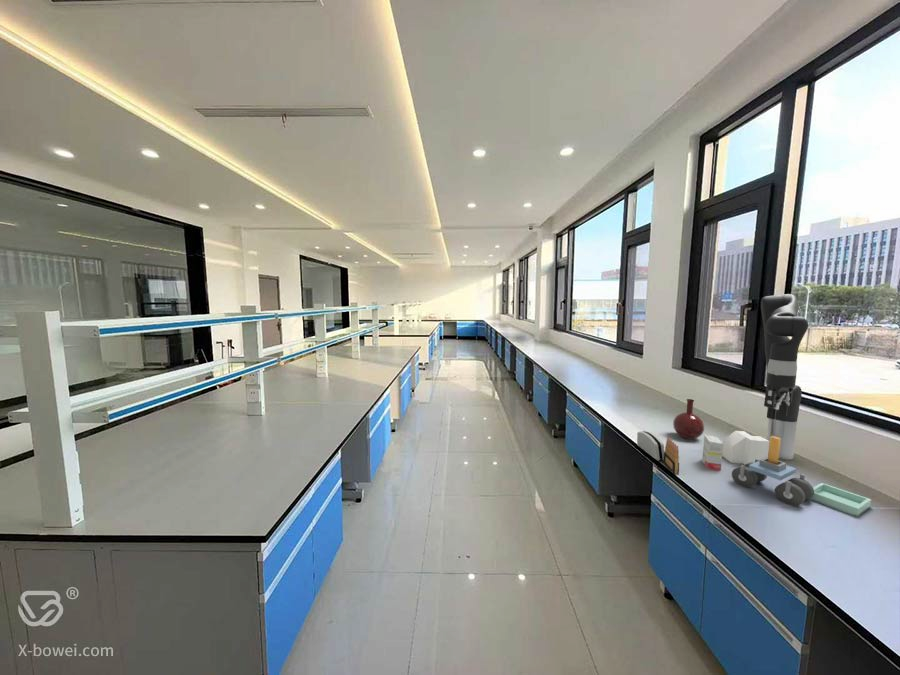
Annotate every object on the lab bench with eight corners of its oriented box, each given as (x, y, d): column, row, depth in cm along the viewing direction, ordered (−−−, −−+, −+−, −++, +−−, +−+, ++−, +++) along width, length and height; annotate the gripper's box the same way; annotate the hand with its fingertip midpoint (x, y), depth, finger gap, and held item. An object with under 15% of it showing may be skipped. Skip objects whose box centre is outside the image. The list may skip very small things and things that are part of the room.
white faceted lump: (766, 469, 144) (769, 441, 143) (735, 466, 147) (738, 439, 145) (750, 457, 155) (752, 431, 154) (721, 455, 157) (723, 429, 156)
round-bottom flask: (702, 436, 179) (705, 398, 177) (704, 445, 168) (707, 405, 166) (672, 431, 186) (674, 395, 184) (672, 439, 175) (675, 401, 173)
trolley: (745, 475, 139) (748, 448, 137) (814, 501, 121) (818, 469, 120) (729, 482, 133) (732, 453, 132) (799, 510, 115) (802, 477, 114)
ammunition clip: (678, 475, 139) (680, 446, 138) (673, 475, 139) (675, 446, 138) (667, 463, 149) (669, 436, 148) (663, 462, 150) (665, 436, 148)
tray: (820, 490, 128) (821, 482, 128) (870, 507, 117) (871, 499, 117) (806, 498, 123) (807, 490, 122) (857, 517, 112) (858, 508, 112)
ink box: (721, 471, 142) (724, 443, 141) (707, 468, 144) (709, 441, 143) (715, 462, 150) (717, 436, 149) (701, 460, 152) (703, 434, 151)
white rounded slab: (668, 462, 149) (667, 440, 148) (657, 463, 149) (656, 441, 148) (647, 446, 166) (645, 426, 165) (637, 447, 166) (635, 427, 165)
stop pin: (769, 464, 128) (772, 435, 127) (779, 467, 125) (782, 438, 124) (765, 465, 127) (768, 437, 126) (775, 469, 124) (778, 439, 123)
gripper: (777, 369, 129) (773, 411, 131) (758, 372, 123) (753, 416, 125) (804, 372, 122) (799, 417, 124) (785, 376, 116) (780, 423, 118)
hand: (776, 416), depth 124 cm, fingers open, 8 cm apart
